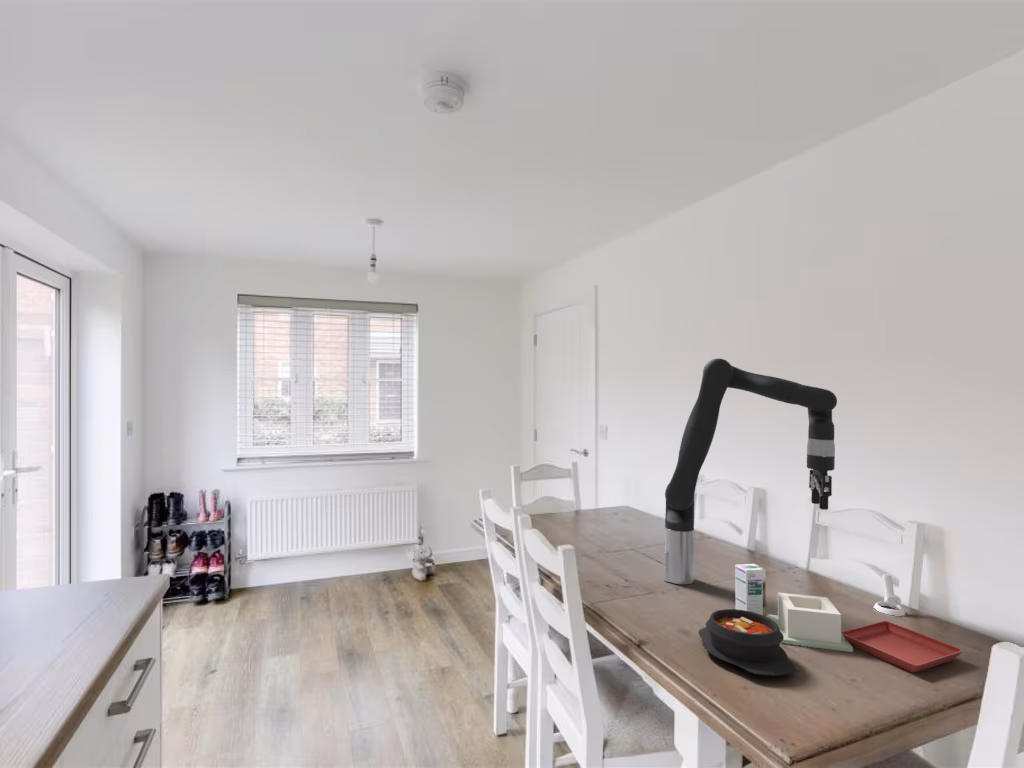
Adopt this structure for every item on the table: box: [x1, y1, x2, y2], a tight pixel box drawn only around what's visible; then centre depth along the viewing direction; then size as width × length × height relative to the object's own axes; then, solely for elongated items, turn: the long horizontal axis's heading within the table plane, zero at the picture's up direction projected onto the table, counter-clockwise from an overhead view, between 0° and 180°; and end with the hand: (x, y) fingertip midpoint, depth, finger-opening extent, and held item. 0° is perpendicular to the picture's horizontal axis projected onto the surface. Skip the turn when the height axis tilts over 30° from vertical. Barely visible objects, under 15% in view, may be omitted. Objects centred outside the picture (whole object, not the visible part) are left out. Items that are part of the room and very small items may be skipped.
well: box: [767, 592, 854, 653], centre depth 142 cm, size 16×16×8 cm
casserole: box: [697, 608, 796, 677], centre depth 129 cm, size 25×19×8 cm
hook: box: [873, 573, 906, 617], centre depth 160 cm, size 8×12×7 cm
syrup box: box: [734, 563, 767, 617], centre depth 151 cm, size 6×6×14 cm
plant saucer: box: [841, 620, 964, 673], centre depth 132 cm, size 18×18×3 cm
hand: (819, 506), depth 169 cm, fingers open, 8 cm apart
